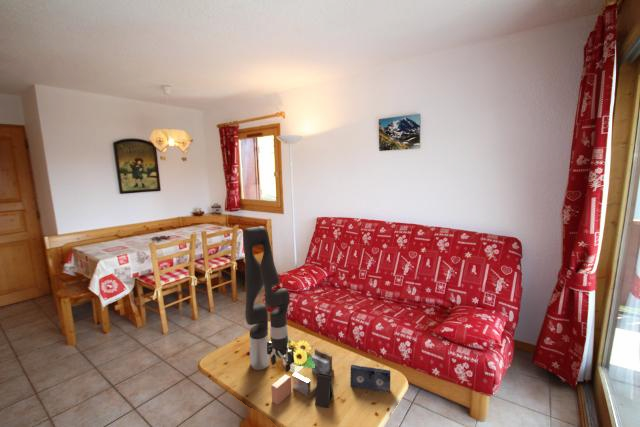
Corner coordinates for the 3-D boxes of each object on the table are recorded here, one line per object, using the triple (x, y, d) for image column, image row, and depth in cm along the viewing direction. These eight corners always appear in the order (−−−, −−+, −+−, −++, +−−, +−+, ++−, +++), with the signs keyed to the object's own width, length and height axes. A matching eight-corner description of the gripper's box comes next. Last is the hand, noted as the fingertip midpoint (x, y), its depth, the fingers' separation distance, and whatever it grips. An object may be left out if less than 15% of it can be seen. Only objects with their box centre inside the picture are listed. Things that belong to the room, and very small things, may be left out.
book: (272, 401, 135) (271, 385, 134) (285, 389, 142) (285, 373, 141) (277, 405, 133) (276, 388, 132) (291, 392, 140) (290, 376, 139)
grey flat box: (292, 388, 143) (292, 374, 142) (295, 385, 144) (295, 372, 143) (307, 396, 138) (307, 382, 136) (310, 393, 139) (310, 380, 138)
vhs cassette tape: (390, 389, 141) (390, 370, 139) (390, 394, 138) (390, 374, 137) (351, 382, 146) (351, 363, 144) (350, 386, 143) (350, 367, 142)
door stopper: (328, 408, 131) (327, 383, 129) (314, 405, 132) (314, 380, 131) (333, 393, 139) (333, 369, 137) (321, 390, 141) (320, 367, 139)
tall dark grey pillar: (290, 389, 142) (290, 369, 141) (316, 366, 158) (316, 348, 157) (309, 399, 136) (308, 379, 134) (334, 374, 152) (333, 356, 150)
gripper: (261, 332, 134) (263, 366, 136) (285, 342, 125) (286, 378, 128) (273, 325, 140) (275, 357, 142) (297, 334, 131) (298, 368, 134)
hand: (280, 367), depth 135 cm, fingers open, 8 cm apart
